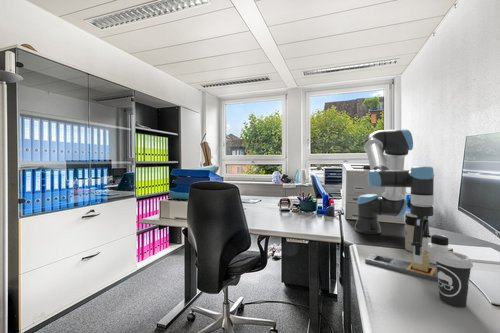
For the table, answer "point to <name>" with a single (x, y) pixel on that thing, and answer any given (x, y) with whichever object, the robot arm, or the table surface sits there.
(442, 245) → the medicine bottle
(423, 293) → the table surface
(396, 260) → the rail
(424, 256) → the nut block
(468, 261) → the coffee cup
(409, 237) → the travel mug
